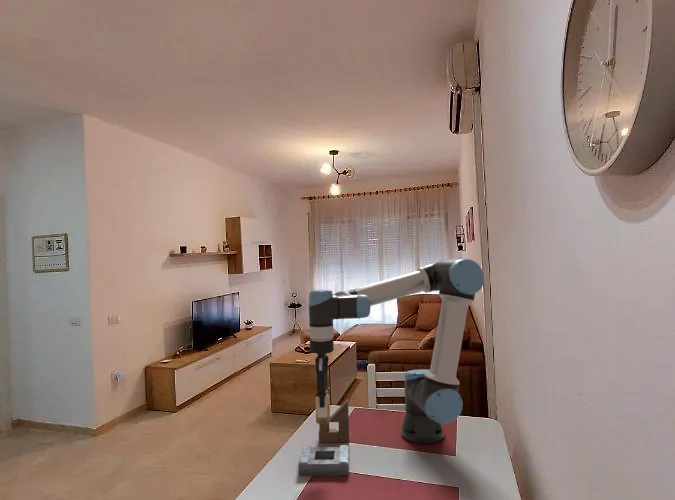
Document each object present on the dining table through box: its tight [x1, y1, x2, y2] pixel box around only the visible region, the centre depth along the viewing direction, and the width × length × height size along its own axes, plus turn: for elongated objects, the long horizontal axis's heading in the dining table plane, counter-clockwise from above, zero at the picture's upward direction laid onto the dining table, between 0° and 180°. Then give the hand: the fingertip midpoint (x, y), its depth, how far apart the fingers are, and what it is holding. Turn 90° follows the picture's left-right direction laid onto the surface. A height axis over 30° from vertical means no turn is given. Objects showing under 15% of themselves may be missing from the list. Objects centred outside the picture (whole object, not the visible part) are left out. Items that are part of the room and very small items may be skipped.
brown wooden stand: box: [318, 398, 350, 443], centre depth 145 cm, size 4×11×18 cm, turn 87°
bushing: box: [315, 393, 331, 425], centre depth 127 cm, size 4×4×8 cm
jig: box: [298, 444, 350, 477], centre depth 127 cm, size 15×11×4 cm
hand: (323, 414), depth 127 cm, fingers closed on bushing, 4 cm apart
